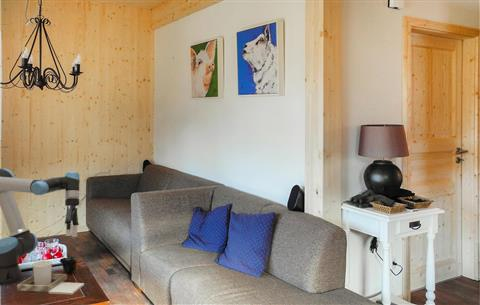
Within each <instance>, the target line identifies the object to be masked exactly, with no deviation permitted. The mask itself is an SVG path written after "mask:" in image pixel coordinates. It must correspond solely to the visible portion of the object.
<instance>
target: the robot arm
mask: <svg viewBox="0 0 480 305" xmlns="http://www.w3.org/2000/svg"><path fill="white" fill-rule="evenodd" d="M80 181H81V179H80V173H79V171H67V172H66V173H65V176H59V177H50V178H47V179H42V180H41V179H33V178H32V179H31V178H21V177H20V178H19V177H15V175H14V173H13V172H12V171H11V170H10V169H8V168H0V210H1V212H2V214H3V218H4V219H5V224H6V225H7V228H8V231H9V235H8V236H7V237H4V238H0V286H4V285H5V284H6V285H11V284H15V283H17V282H19V281H21V280H23V272H22V270H21V268H20V266H19V258H21V257H24V256H26V255H29V254H30V253H32V252H34V251H35V250H36V248H37V247H38V243H39V242H38V237H37V236H36V234H34V233H33V232H31V230H30V229H29V228H27V226H26V225H25V222H24V220H23V217H22V214H21V211H20V209H19V206H18V203H17V201H16V197H15V196H14V192H18V193H29V194H34V195H35V196H42V195H43V196H44V195H45V194H46V195H47V194H49V193H53V192H57V191H62V190H63V191H64V190H65V193H64V194H65V195H64V198H65V200H64V203H65V204H64V205H65V206H66V213H65V221H64V224H65V236H66V237H71V238H77V237H78V226H79V225H80V223H79V219H78V218H79V217H78V208H77V207H78V206H79V205H80V195H81V192H80Z"/></svg>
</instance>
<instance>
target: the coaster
mask: <svg viewBox="0 0 480 305" xmlns="http://www.w3.org/2000/svg"><path fill="white" fill-rule="evenodd" d="M83 286H85V283H84V282H66V281H64V282H61V283H60V284H59V285H57V286H56V287H54V288H53V289H52V290H50V291H49V292H48V294H51V295H53V294H54V295H71V296H72V295H73V294H75V293H76V292H77V291H79V290H80V289H81V288H82V287H83Z"/></svg>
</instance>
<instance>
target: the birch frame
mask: <svg viewBox="0 0 480 305" xmlns="http://www.w3.org/2000/svg"><path fill="white" fill-rule="evenodd" d="M67 274H68V273H52V275H51V280H54V281H53V282H51V284H50V285H48V286H47V285H35V284H31V283H34V275H32V276H29V277H27V278H26V279H25V280H23V281H21V282H20V283H18V284H17V286H16V287H17V288H16V289H17V291H21V292H23V291H25V292H44V293H46V292H47V293H49V291H50V290H52V289H53V288H54V287H56V286H57V285H59V284H60V283H61V282H66V280H68V275H67Z"/></svg>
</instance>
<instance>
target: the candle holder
mask: <svg viewBox="0 0 480 305" xmlns="http://www.w3.org/2000/svg"><path fill="white" fill-rule="evenodd" d="M52 265H53V262H52V261H51V260H39V261H35V262H34V263H33V264H32V272H33V275H34V281H33V283H34V284H33V285H47V286H48V285H50V284H51V283H52V279H51V275H52V274H53V272H52V270H53V268H52V267H53V266H52ZM33 275H32V276H33Z"/></svg>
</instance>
